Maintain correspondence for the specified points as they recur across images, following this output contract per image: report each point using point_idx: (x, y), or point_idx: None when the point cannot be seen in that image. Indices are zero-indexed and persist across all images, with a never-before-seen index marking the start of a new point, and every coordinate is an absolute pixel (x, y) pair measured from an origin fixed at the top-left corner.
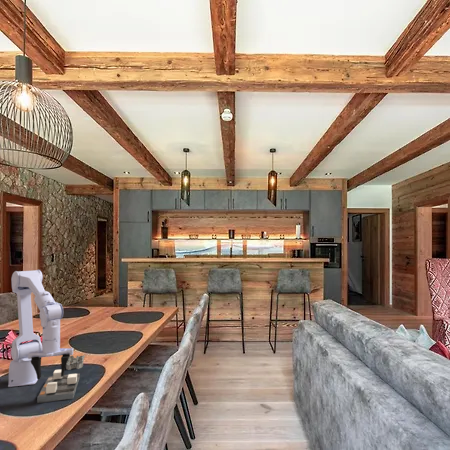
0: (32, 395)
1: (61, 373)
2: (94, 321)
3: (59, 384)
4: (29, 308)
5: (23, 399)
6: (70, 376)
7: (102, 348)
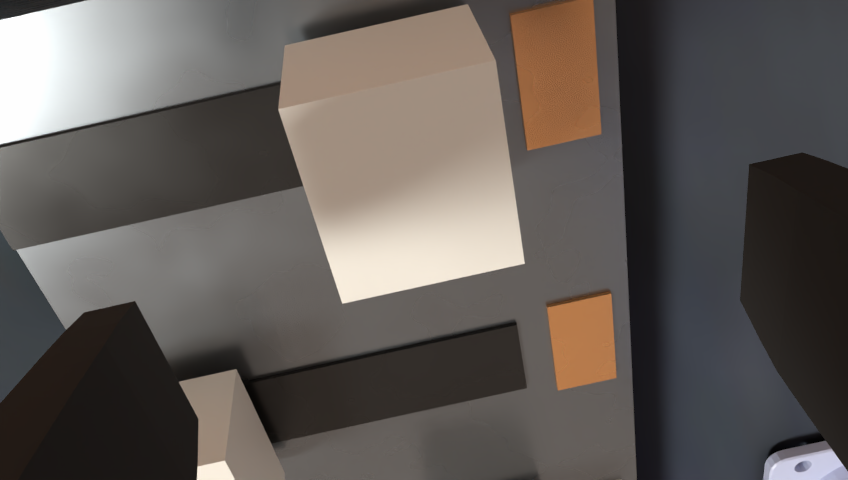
0: (730, 170)
1: (81, 360)
2: None
3: (385, 376)
4: None
5: (843, 39)
6: None
7: None
